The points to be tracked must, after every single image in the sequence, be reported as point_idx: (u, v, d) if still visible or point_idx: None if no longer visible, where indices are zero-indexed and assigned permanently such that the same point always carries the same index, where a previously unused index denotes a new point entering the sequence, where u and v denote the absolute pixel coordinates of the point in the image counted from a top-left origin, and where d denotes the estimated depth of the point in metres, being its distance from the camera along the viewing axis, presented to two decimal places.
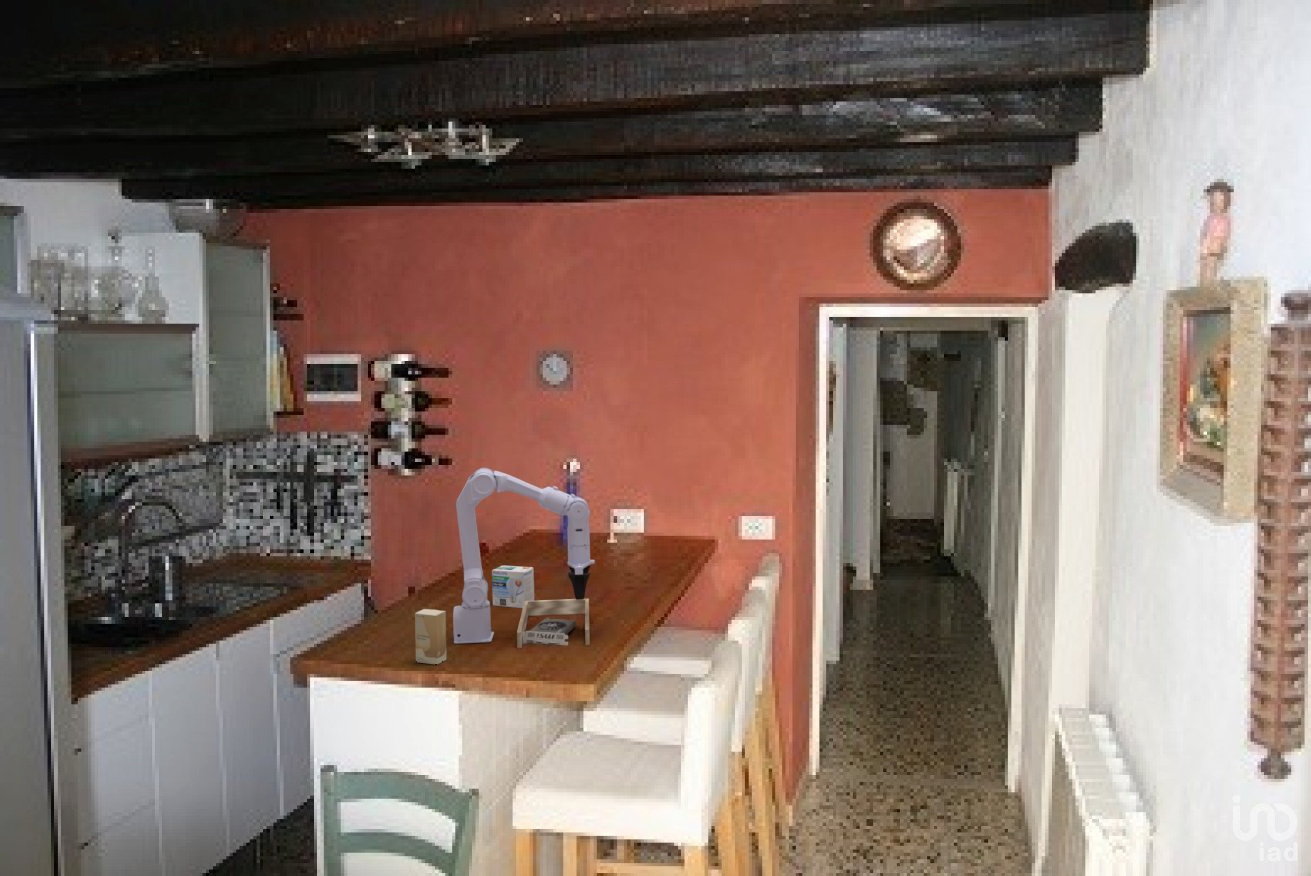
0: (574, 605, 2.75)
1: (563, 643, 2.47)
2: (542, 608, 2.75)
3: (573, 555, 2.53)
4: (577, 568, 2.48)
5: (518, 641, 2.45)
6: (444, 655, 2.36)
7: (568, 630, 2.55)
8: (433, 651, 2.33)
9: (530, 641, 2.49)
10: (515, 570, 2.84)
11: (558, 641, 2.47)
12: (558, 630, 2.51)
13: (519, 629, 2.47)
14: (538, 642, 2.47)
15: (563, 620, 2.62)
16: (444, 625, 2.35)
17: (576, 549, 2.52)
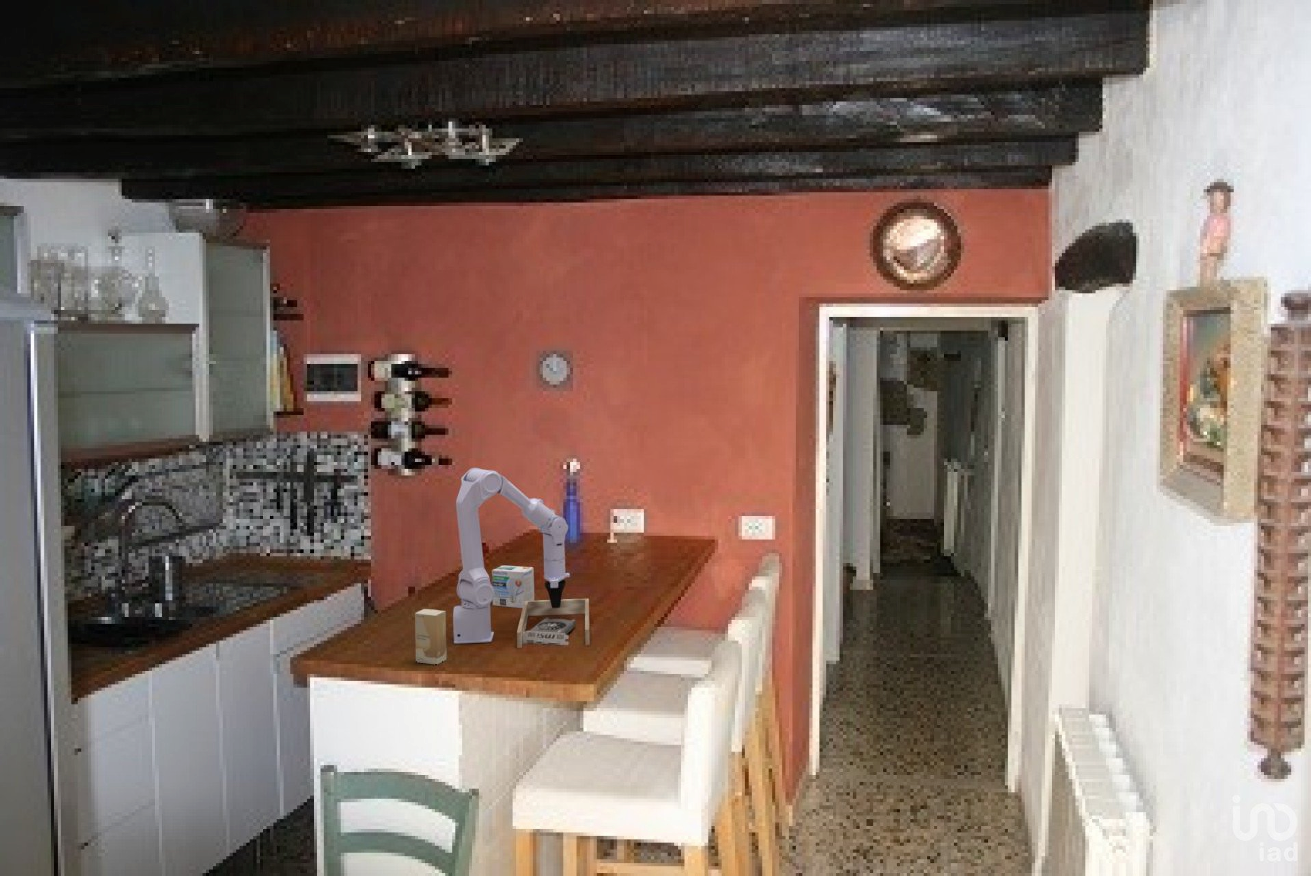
0: (574, 605, 2.75)
1: (563, 643, 2.47)
2: (542, 608, 2.75)
3: (549, 569, 2.64)
4: (552, 582, 2.60)
5: (518, 641, 2.45)
6: (444, 655, 2.36)
7: (568, 630, 2.55)
8: (433, 651, 2.33)
9: (530, 641, 2.49)
10: (515, 570, 2.84)
11: (558, 641, 2.47)
12: (558, 630, 2.52)
13: (519, 629, 2.47)
14: (538, 642, 2.48)
15: (563, 620, 2.62)
16: (444, 625, 2.35)
17: (552, 563, 2.64)
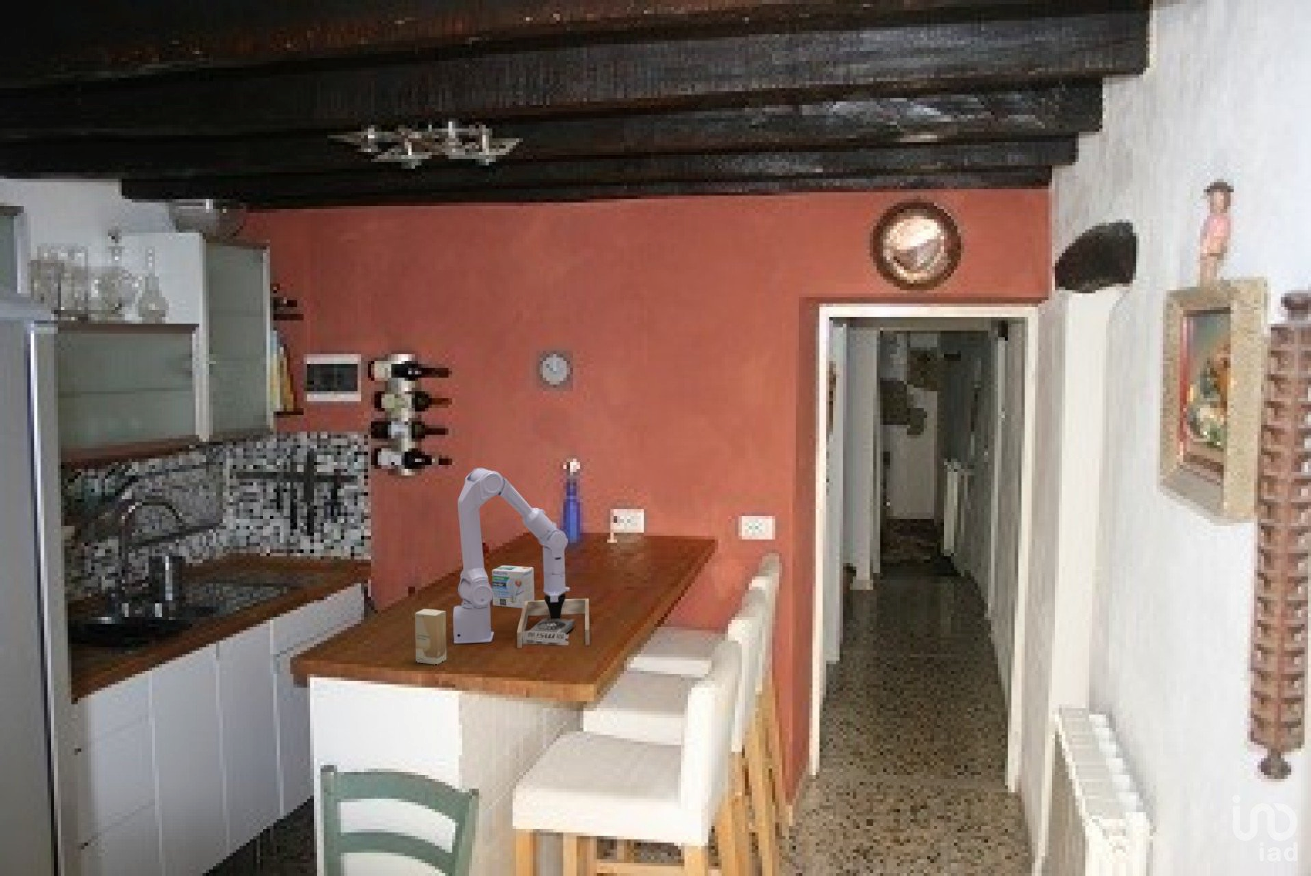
0: (574, 605, 2.75)
1: (563, 643, 2.47)
2: (542, 608, 2.75)
3: (549, 583, 2.61)
4: (552, 596, 2.57)
5: (518, 641, 2.45)
6: (444, 655, 2.36)
7: (567, 630, 2.55)
8: (433, 651, 2.33)
9: (530, 641, 2.48)
10: (515, 570, 2.84)
11: (558, 641, 2.47)
12: (558, 630, 2.51)
13: (519, 629, 2.47)
14: (538, 642, 2.47)
15: (561, 620, 2.61)
16: (444, 625, 2.35)
17: (551, 577, 2.61)
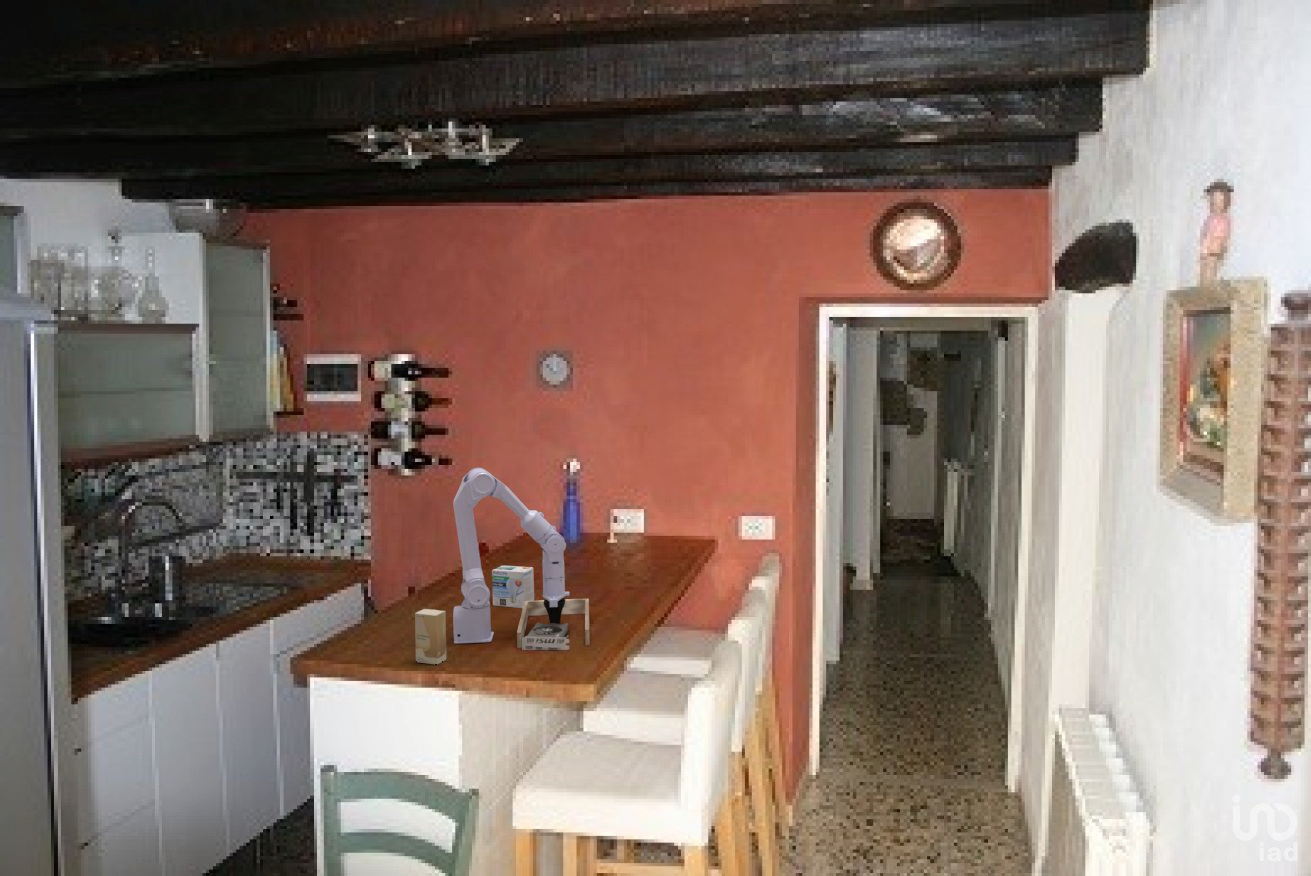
0: (574, 605, 2.75)
1: (564, 647, 2.43)
2: (542, 608, 2.75)
3: (548, 588, 2.56)
4: (552, 601, 2.52)
5: (518, 641, 2.45)
6: (444, 655, 2.36)
7: (564, 634, 2.51)
8: (433, 651, 2.33)
9: (529, 647, 2.43)
10: (515, 570, 2.84)
11: (559, 645, 2.43)
12: (556, 634, 2.47)
13: (519, 629, 2.47)
14: (538, 647, 2.42)
15: (555, 624, 2.57)
16: (444, 625, 2.35)
17: (551, 582, 2.56)
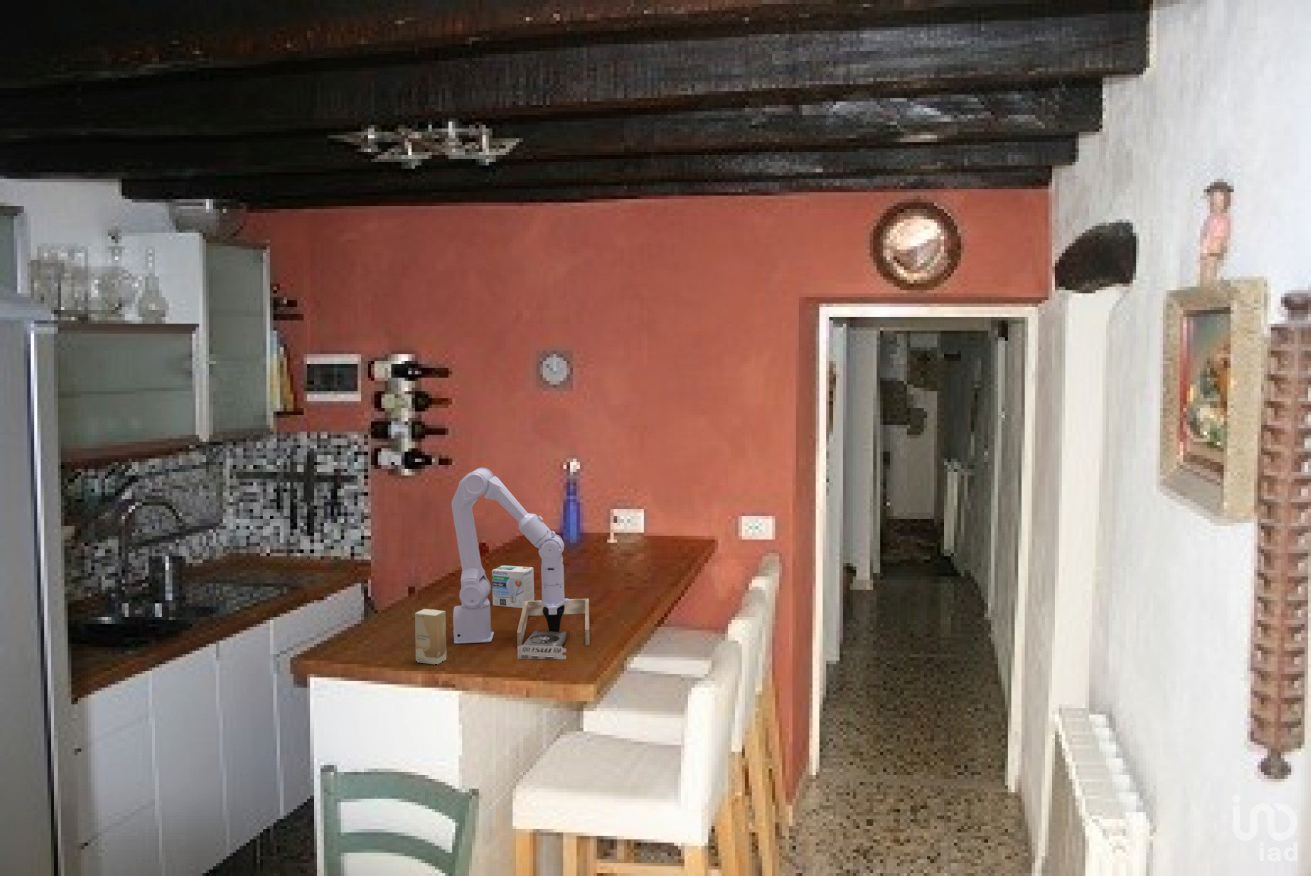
0: (574, 605, 2.75)
1: (561, 657, 2.35)
2: (542, 608, 2.75)
3: (547, 595, 2.49)
4: (551, 608, 2.44)
5: (518, 641, 2.45)
6: (444, 655, 2.36)
7: (562, 643, 2.44)
8: (433, 651, 2.33)
9: (525, 656, 2.36)
10: (515, 570, 2.84)
11: (555, 655, 2.35)
12: (553, 643, 2.40)
13: (519, 629, 2.47)
14: (534, 657, 2.35)
15: (553, 632, 2.50)
16: (444, 625, 2.35)
17: (550, 588, 2.48)
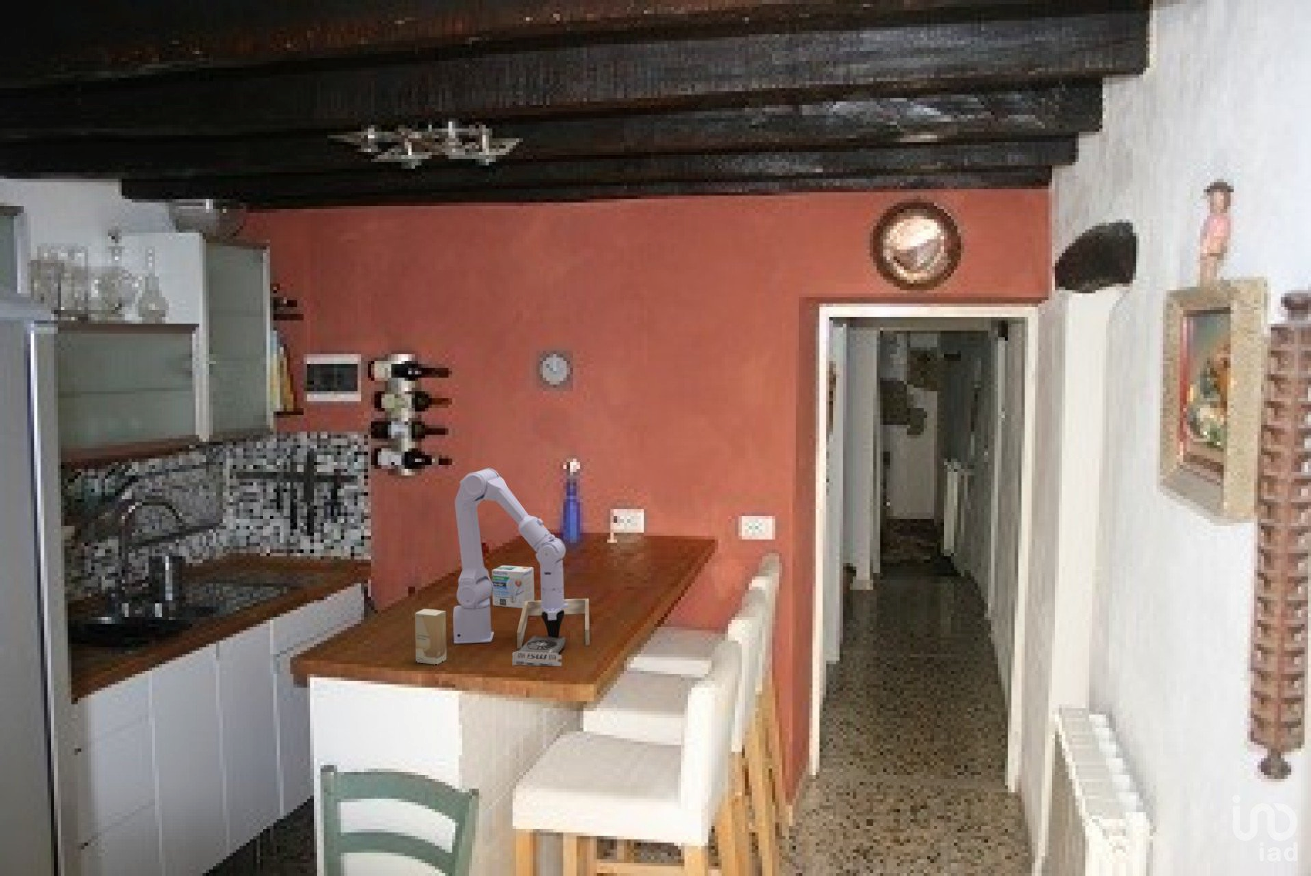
0: (574, 605, 2.75)
1: (556, 664, 2.30)
2: None
3: (547, 600, 2.44)
4: (550, 613, 2.39)
5: (518, 641, 2.45)
6: (444, 655, 2.36)
7: (559, 649, 2.39)
8: (433, 651, 2.33)
9: (520, 662, 2.32)
10: (515, 570, 2.84)
11: (551, 662, 2.30)
12: (549, 649, 2.35)
13: (519, 629, 2.47)
14: (529, 663, 2.31)
15: (552, 638, 2.45)
16: (444, 625, 2.35)
17: (549, 593, 2.44)
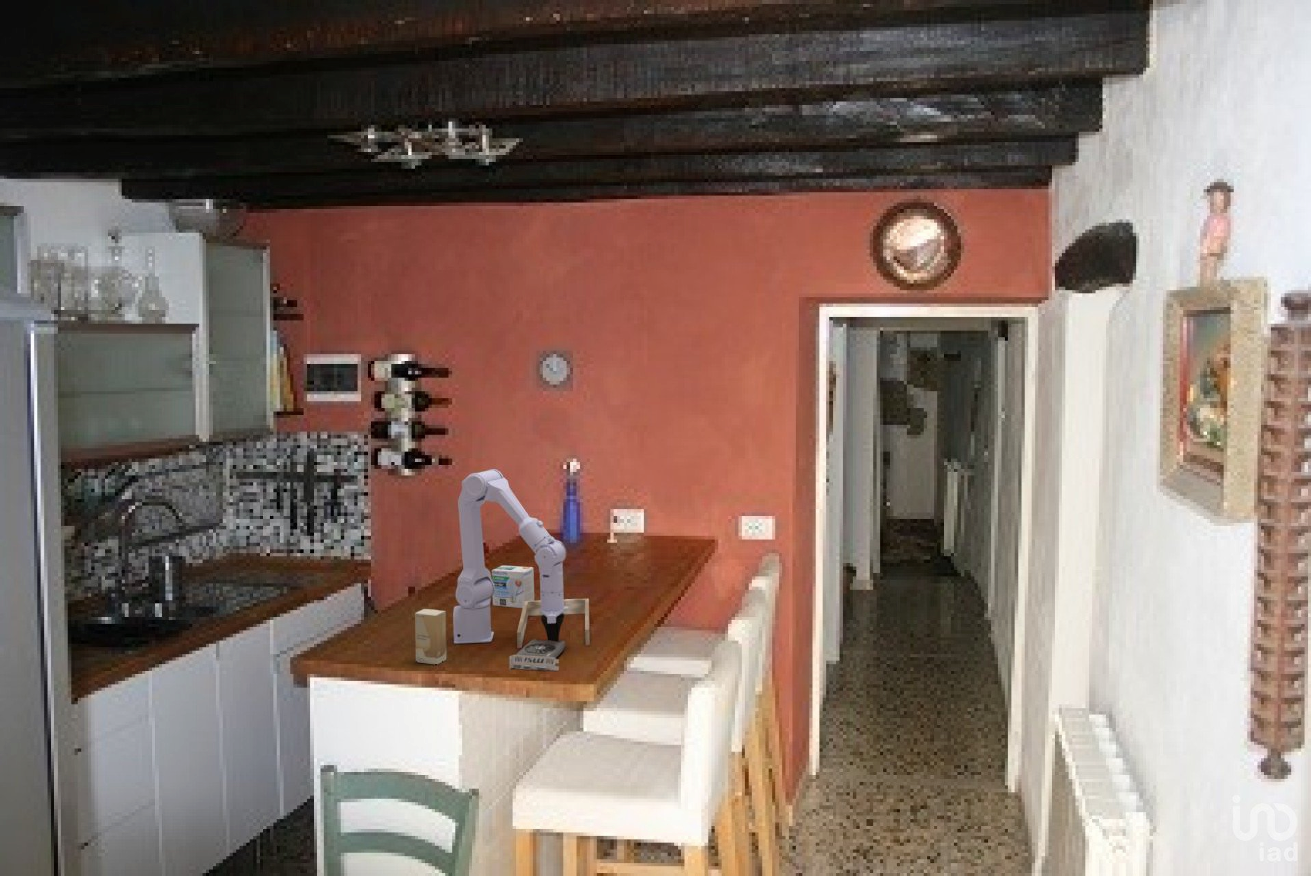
0: (574, 605, 2.75)
1: (553, 668, 2.27)
2: None
3: (546, 603, 2.41)
4: (550, 617, 2.37)
5: (518, 641, 2.45)
6: (444, 655, 2.36)
7: (558, 653, 2.35)
8: (433, 651, 2.33)
9: (517, 666, 2.29)
10: (515, 570, 2.84)
11: (548, 666, 2.27)
12: (547, 653, 2.32)
13: (519, 629, 2.47)
14: (526, 667, 2.28)
15: (551, 642, 2.42)
16: (444, 625, 2.35)
17: (549, 596, 2.41)
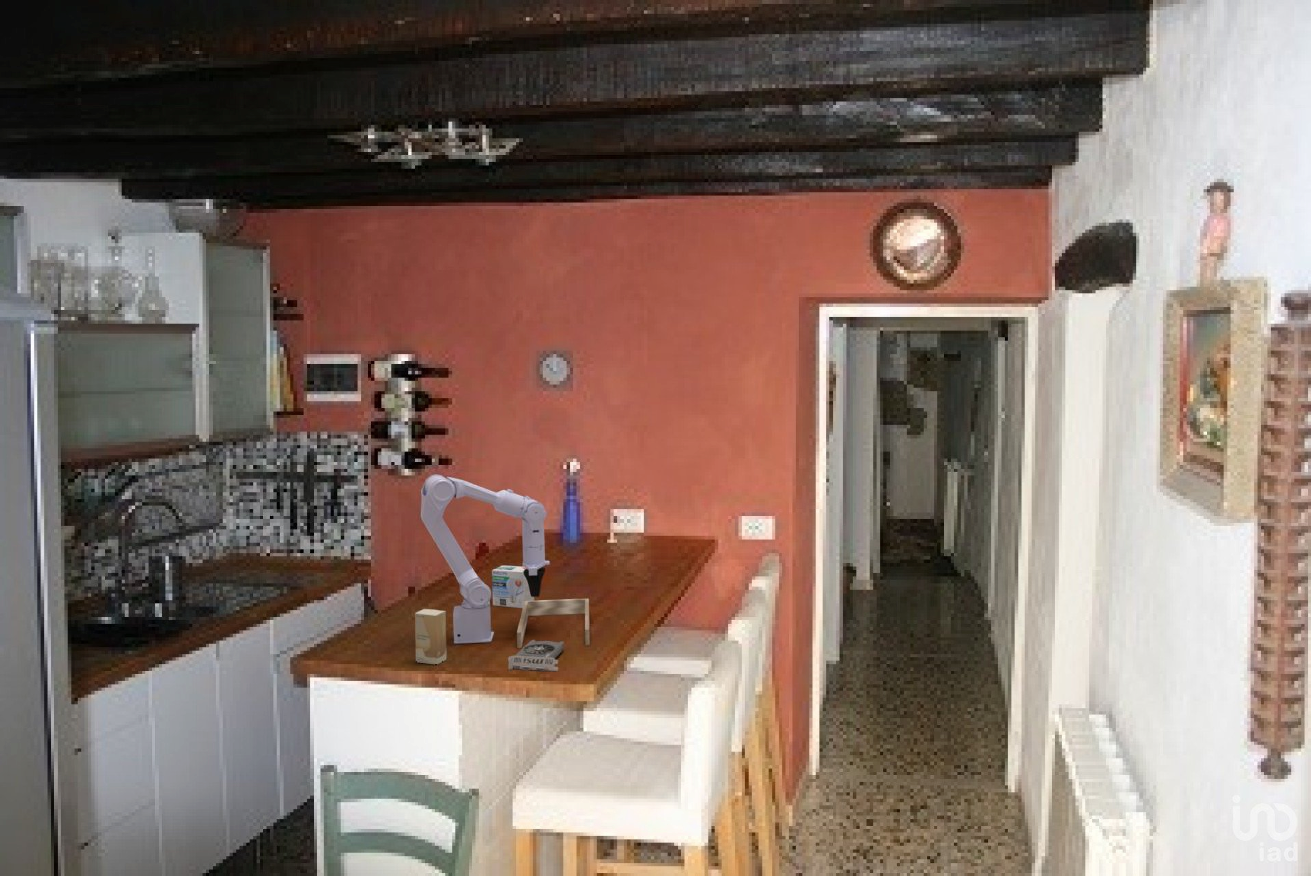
0: (574, 605, 2.75)
1: (553, 668, 2.27)
2: (542, 608, 2.75)
3: (528, 557, 2.55)
4: (531, 569, 2.50)
5: (518, 641, 2.45)
6: (444, 655, 2.36)
7: (557, 653, 2.35)
8: (433, 651, 2.33)
9: (516, 667, 2.29)
10: (515, 570, 2.84)
11: (547, 666, 2.27)
12: (546, 654, 2.32)
13: (519, 629, 2.47)
14: (525, 668, 2.28)
15: (550, 642, 2.42)
16: (444, 625, 2.35)
17: (531, 550, 2.55)
